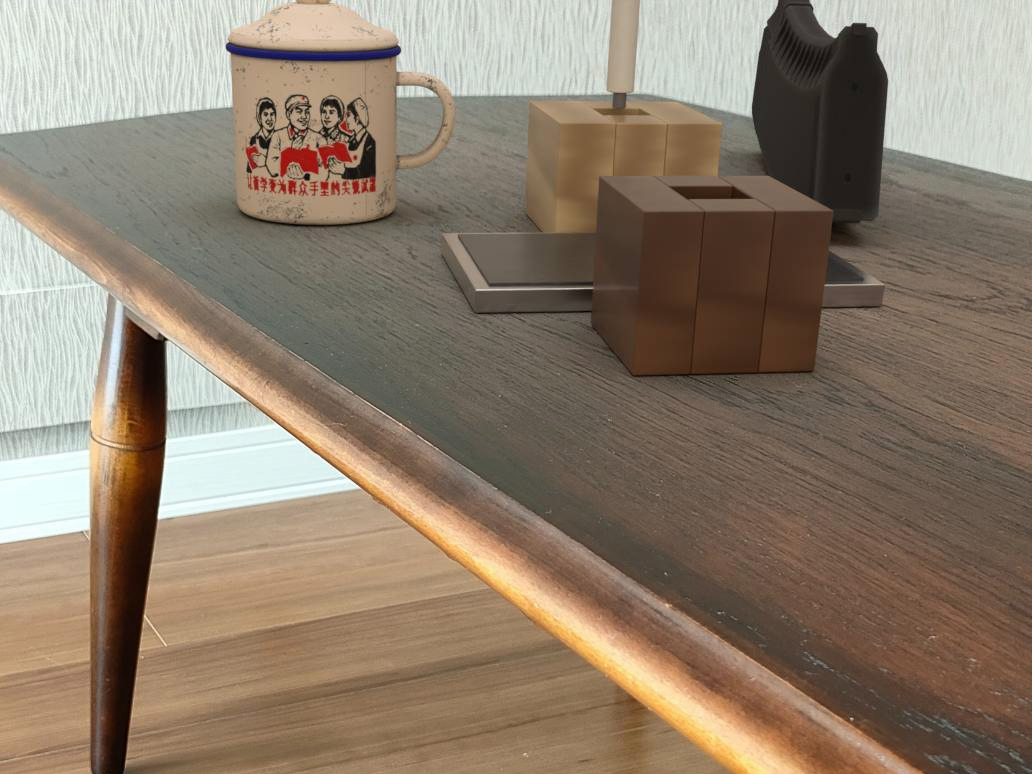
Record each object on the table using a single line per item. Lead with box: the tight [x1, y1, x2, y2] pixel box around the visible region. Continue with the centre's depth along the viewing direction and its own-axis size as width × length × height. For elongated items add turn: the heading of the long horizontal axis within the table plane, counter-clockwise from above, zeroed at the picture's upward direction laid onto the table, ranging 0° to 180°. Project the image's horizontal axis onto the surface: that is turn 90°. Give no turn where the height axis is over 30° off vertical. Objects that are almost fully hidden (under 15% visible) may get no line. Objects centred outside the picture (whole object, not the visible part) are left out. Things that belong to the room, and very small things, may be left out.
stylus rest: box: [590, 175, 833, 376], centre depth 55 cm, size 7×7×6 cm
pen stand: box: [524, 100, 723, 233], centre depth 76 cm, size 8×8×6 cm
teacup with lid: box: [225, 0, 457, 226], centre depth 77 cm, size 12×9×12 cm
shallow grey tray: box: [440, 232, 886, 314], centre depth 66 cm, size 18×11×1 cm, turn 99°
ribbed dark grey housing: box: [751, 0, 889, 224], centre depth 85 cm, size 17×3×30 cm
